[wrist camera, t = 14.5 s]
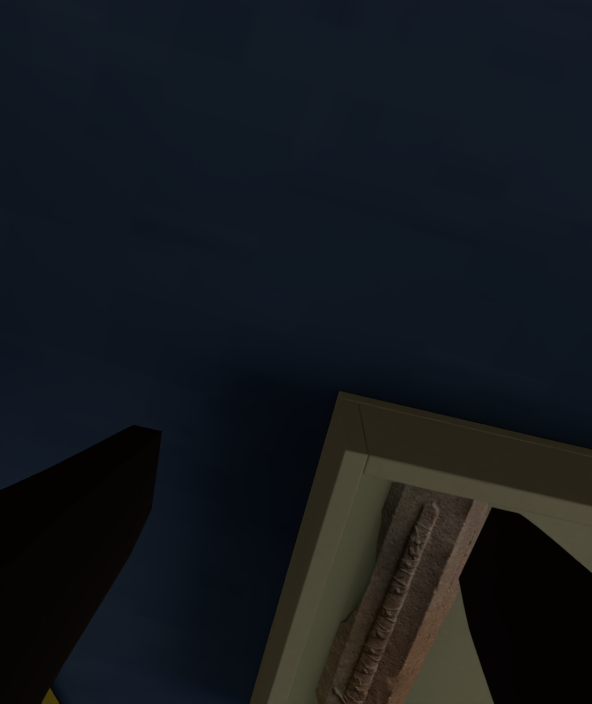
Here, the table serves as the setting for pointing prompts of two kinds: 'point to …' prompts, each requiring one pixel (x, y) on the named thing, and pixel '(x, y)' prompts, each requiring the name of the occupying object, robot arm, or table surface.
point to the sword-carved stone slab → (402, 596)
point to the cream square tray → (364, 524)
